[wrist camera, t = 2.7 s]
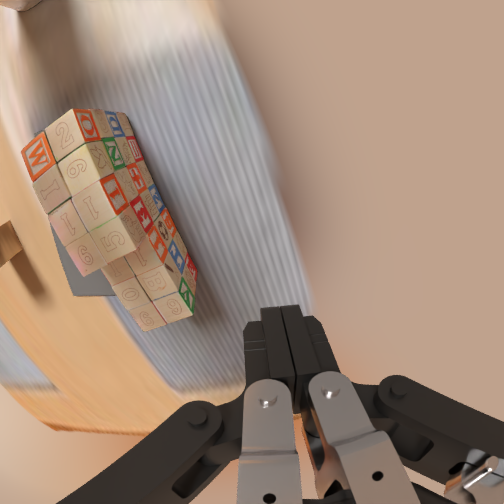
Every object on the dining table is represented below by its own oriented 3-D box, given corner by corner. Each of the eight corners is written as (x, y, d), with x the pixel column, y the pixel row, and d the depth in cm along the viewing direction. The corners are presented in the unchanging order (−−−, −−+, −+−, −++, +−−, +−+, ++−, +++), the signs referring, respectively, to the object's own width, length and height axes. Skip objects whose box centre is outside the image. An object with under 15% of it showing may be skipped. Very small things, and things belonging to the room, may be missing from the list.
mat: (36, 133, 25) (34, 133, 25) (96, 112, 25) (95, 112, 25) (74, 294, 35) (73, 295, 35) (131, 292, 36) (130, 294, 35)
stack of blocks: (199, 270, 35) (192, 337, 24) (157, 287, 35) (136, 353, 24) (124, 111, 26) (71, 106, 14) (81, 138, 26) (17, 150, 15)
